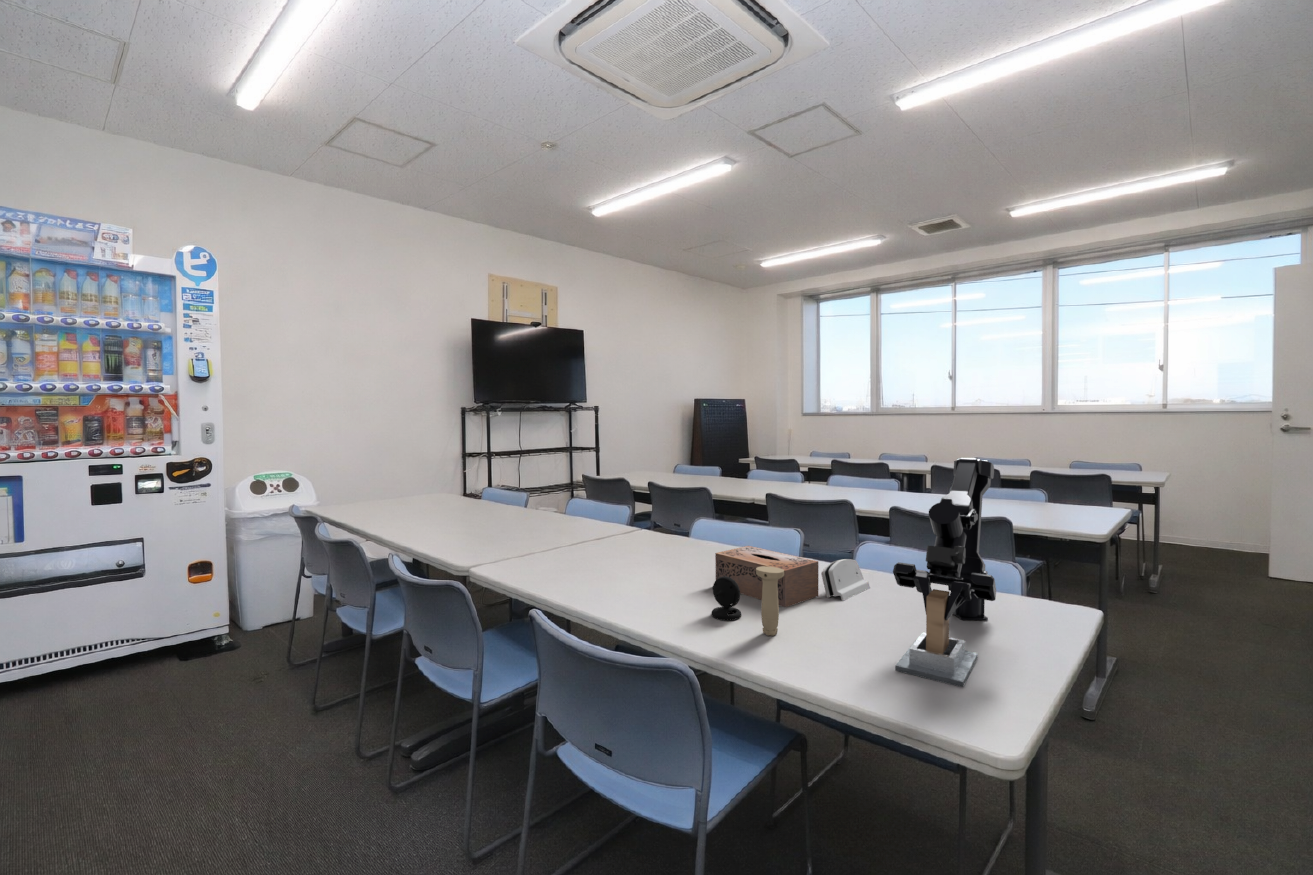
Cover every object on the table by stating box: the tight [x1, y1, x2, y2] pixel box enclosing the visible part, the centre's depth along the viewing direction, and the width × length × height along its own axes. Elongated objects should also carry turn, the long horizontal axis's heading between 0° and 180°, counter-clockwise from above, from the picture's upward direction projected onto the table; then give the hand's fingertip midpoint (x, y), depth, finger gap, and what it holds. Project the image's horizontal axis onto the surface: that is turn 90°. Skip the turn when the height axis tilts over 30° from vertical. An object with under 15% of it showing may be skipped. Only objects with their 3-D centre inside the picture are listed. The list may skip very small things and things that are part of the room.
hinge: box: [821, 558, 871, 602], centre depth 166 cm, size 17×5×10 cm, turn 135°
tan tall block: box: [925, 588, 950, 654], centre depth 118 cm, size 6×3×11 cm, turn 143°
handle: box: [756, 566, 784, 637], centre depth 134 cm, size 5×6×15 cm
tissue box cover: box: [714, 545, 819, 608], centre depth 167 cm, size 26×14×10 cm, turn 39°
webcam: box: [711, 576, 742, 622], centre depth 147 cm, size 8×8×10 cm
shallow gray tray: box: [894, 631, 979, 688], centre depth 118 cm, size 16×12×4 cm
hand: (936, 617), depth 116 cm, fingers closed on tan tall block, 3 cm apart
